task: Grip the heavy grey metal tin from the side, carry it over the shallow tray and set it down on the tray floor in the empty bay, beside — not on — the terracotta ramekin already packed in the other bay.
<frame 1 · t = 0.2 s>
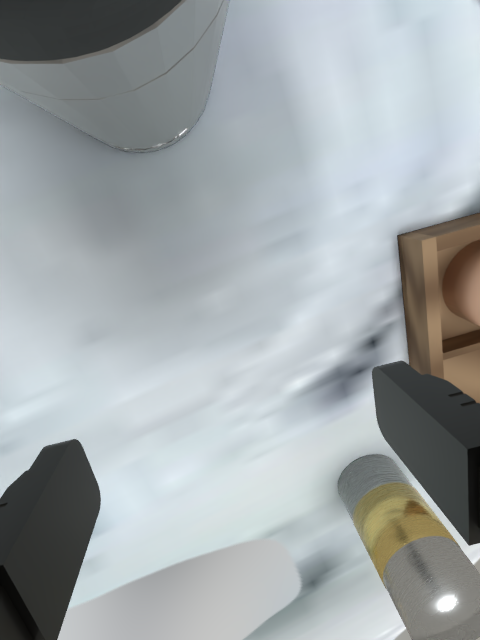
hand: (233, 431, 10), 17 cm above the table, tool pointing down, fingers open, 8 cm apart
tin: (368, 480, 35), on the table
tray: (476, 334, 31), on the table
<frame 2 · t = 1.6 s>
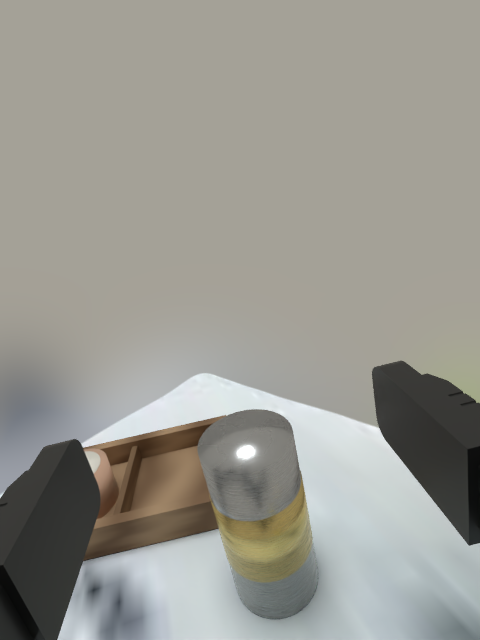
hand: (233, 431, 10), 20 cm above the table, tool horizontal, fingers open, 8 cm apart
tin: (276, 573, 27), on the table
ramekin: (86, 503, 36), point 1 cm above the table, touching tray
tray: (138, 496, 37), on the table
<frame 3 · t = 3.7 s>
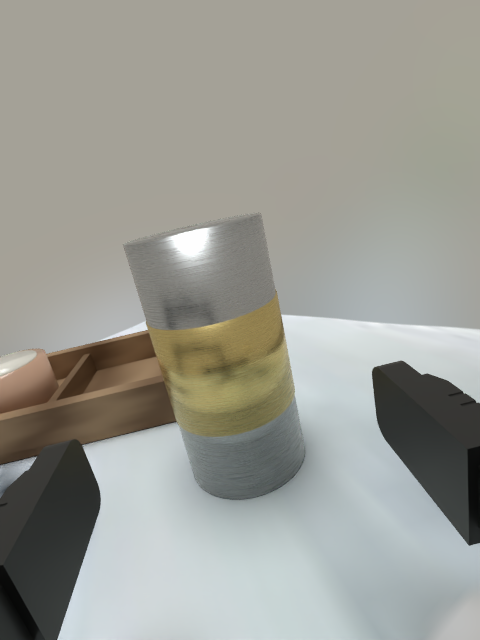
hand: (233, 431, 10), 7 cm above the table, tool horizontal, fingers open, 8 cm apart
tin: (248, 454, 20), on the table
ramekin: (20, 411, 29), point 1 cm above the table, touching tray
tray: (85, 403, 30), on the table
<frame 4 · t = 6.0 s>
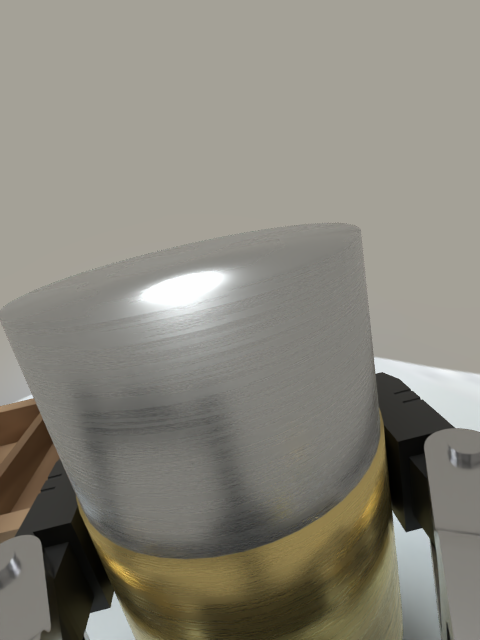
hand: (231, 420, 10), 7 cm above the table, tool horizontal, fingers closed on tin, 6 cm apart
tray: (34, 492, 20), on the table
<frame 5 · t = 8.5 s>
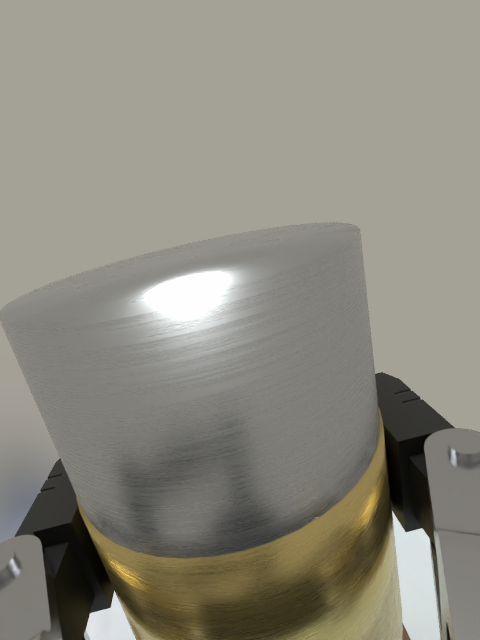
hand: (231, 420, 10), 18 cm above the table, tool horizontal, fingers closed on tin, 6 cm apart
when the fingers open (9 cm above the table, at t = 11.1 s): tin drops 1 cm, resting on tray.
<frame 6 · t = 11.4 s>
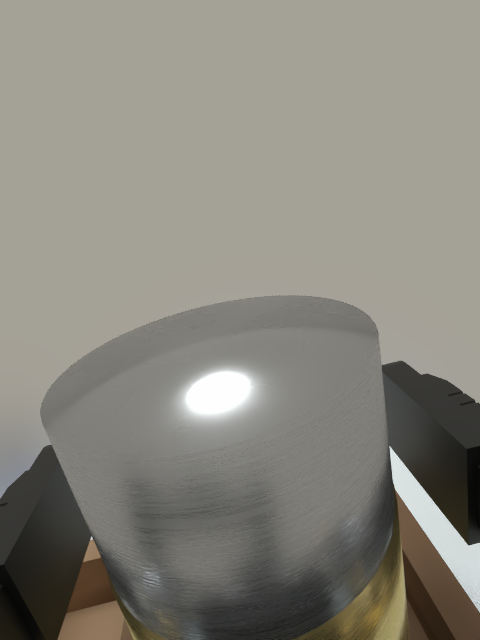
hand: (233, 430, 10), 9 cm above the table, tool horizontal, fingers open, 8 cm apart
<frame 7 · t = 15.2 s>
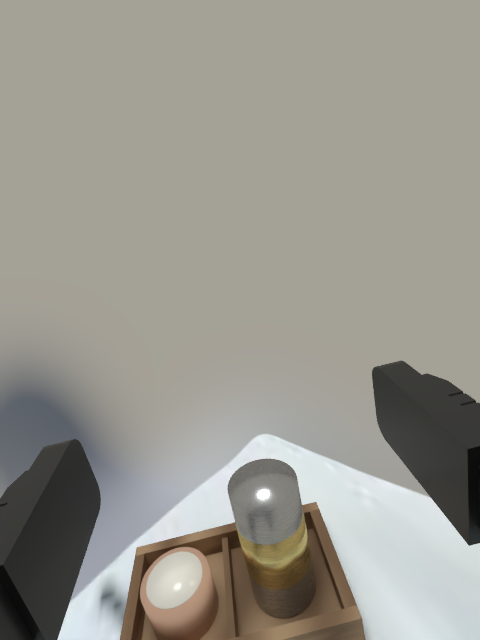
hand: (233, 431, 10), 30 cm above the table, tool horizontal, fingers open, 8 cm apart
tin: (283, 584, 35), point 1 cm above the table, touching tray
ramekin: (185, 608, 35), point 1 cm above the table, touching tray
tray: (238, 599, 35), on the table
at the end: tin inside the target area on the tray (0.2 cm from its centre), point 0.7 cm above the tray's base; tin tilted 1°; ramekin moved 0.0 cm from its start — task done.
